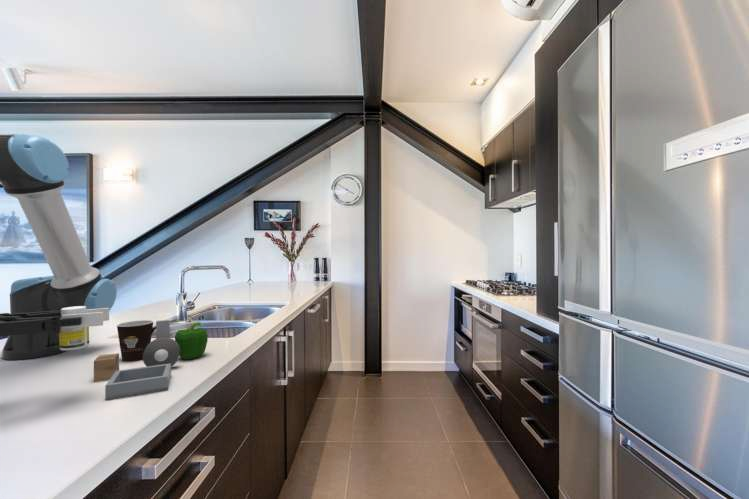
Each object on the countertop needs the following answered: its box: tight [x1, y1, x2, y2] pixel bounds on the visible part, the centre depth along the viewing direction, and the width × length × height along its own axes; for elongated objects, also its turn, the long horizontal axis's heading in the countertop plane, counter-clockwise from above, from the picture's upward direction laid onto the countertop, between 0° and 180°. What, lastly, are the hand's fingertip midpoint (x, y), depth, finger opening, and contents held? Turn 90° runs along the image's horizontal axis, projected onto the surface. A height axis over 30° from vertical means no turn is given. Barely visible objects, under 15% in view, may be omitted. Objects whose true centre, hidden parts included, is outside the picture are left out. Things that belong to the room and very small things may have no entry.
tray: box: [104, 363, 172, 401], centre depth 78 cm, size 10×11×3 cm
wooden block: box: [93, 352, 120, 383], centre depth 84 cm, size 5×4×5 cm
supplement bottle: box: [59, 306, 90, 352], centre depth 72 cm, size 5×5×8 cm
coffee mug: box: [116, 319, 156, 363], centre depth 99 cm, size 12×9×10 cm
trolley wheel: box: [142, 319, 180, 368], centre depth 91 cm, size 6×8×12 cm
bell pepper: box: [174, 321, 209, 360], centre depth 100 cm, size 8×8×10 cm
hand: (105, 316), depth 75 cm, fingers closed on supplement bottle, 5 cm apart
